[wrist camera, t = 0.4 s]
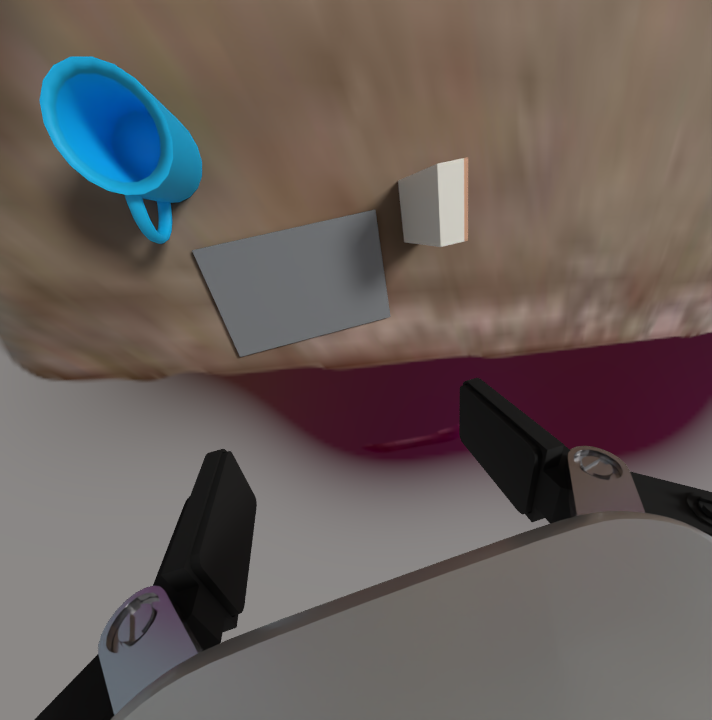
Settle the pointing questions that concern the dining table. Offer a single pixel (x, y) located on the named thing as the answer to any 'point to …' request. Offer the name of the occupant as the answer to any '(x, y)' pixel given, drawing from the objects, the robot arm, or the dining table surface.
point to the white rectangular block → (436, 204)
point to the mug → (120, 138)
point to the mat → (298, 282)
